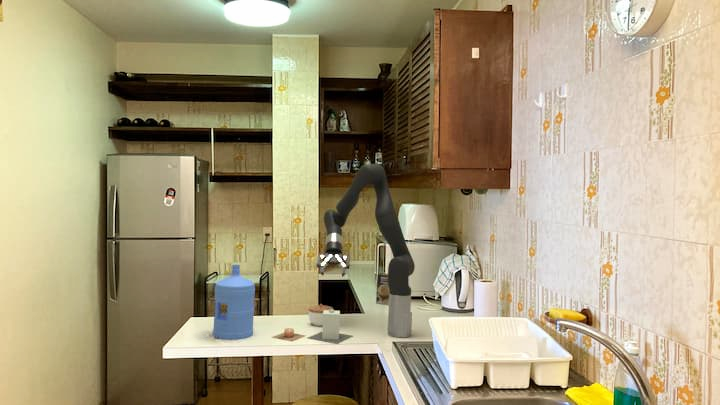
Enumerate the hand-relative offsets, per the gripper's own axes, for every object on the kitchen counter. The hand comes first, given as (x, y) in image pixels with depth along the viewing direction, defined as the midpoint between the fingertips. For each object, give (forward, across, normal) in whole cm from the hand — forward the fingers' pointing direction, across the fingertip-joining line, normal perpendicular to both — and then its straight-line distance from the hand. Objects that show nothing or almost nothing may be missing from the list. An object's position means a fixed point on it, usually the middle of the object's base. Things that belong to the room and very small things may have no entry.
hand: (332, 275), depth 211 cm
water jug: (+25, -39, +10) cm, 47 cm away
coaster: (+26, -16, +8) cm, 31 cm away
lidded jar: (+11, -4, +23) cm, 26 cm away
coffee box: (-25, +30, +59) cm, 71 cm away
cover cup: (+25, 0, +8) cm, 26 cm away
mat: (+25, 0, +8) cm, 26 cm away
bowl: (+25, -16, +8) cm, 31 cm away
